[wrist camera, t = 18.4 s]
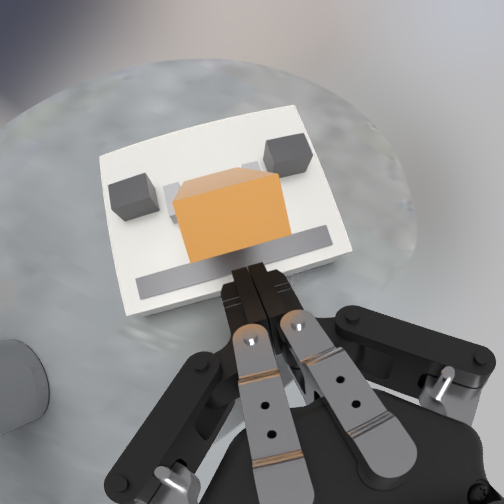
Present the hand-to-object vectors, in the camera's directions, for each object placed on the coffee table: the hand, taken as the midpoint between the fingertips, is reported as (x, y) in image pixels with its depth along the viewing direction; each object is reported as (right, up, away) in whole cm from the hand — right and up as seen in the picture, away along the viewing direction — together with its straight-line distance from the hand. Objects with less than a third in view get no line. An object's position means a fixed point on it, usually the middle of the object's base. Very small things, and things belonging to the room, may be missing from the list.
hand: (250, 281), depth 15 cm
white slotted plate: (-3, +5, +15) cm, 16 cm away
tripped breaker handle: (-3, +6, +8) cm, 10 cm away
